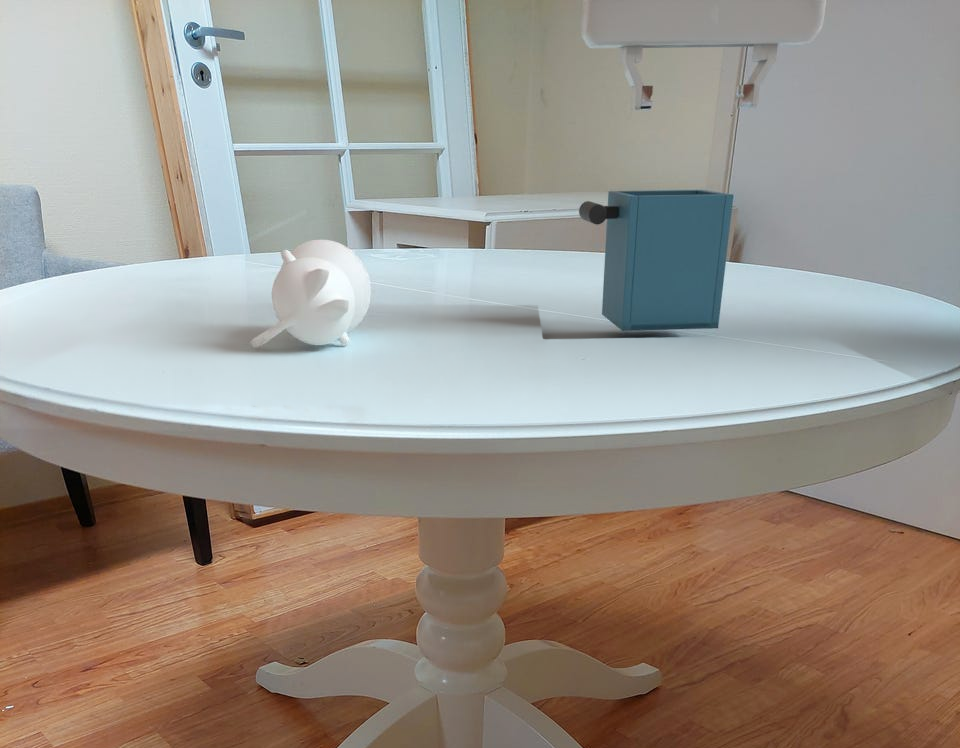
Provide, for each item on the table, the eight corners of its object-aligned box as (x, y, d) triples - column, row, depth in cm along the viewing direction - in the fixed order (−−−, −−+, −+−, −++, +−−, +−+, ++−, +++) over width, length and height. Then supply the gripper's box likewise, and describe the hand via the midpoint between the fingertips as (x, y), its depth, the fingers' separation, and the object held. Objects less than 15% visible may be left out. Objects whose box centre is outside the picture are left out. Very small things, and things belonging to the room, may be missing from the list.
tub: (690, 312, 89) (702, 189, 84) (718, 328, 81) (733, 194, 76) (570, 315, 88) (575, 191, 83) (588, 332, 80) (594, 196, 75)
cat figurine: (313, 226, 66) (337, 210, 77) (206, 306, 69) (243, 280, 80) (381, 329, 70) (395, 300, 80) (277, 400, 73) (303, 363, 83)
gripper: (591, -101, 68) (583, 110, 75) (849, -101, 69) (819, 106, 76) (576, -83, 73) (570, 112, 80) (816, -83, 75) (790, 108, 81)
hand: (693, 109), depth 78 cm, fingers open, 8 cm apart
